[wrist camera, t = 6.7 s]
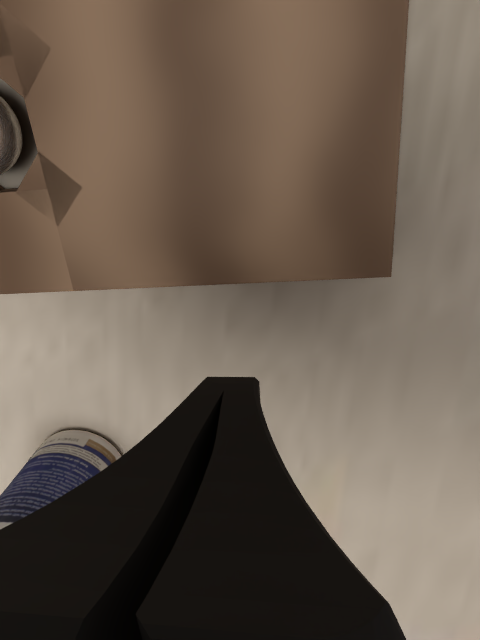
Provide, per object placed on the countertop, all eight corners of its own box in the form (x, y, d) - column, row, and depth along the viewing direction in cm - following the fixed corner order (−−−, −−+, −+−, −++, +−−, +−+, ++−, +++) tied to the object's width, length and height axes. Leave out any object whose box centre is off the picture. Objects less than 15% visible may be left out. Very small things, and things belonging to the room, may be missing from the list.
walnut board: (402, -144, 13) (420, -189, 11) (380, 262, 18) (391, 276, 16) (-136, -50, 15) (-193, -75, 14) (-20, 282, 21) (-50, 296, 19)
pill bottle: (26, 434, 24) (-124, 605, 16) (105, 418, 23) (-8, 592, 14) (67, 501, 26) (-46, 686, 18) (142, 489, 25) (63, 680, 16)
